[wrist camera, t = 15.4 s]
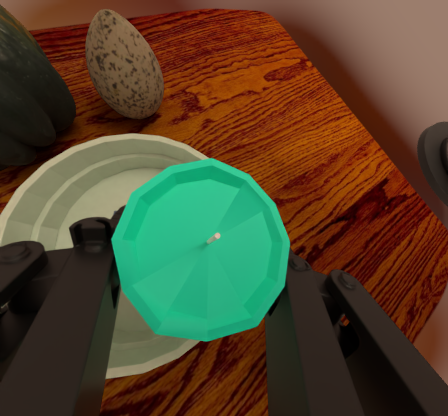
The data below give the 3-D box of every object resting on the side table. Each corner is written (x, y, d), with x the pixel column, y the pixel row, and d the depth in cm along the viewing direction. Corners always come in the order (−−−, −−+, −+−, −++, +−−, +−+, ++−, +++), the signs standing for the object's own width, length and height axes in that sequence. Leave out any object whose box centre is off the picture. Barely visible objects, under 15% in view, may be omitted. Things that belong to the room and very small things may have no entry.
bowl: (247, 188, 24) (264, 169, 19) (211, 356, 18) (221, 397, 13) (97, 142, 21) (69, 106, 16) (3, 320, 16) (-88, 351, 11)
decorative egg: (116, 137, 22) (62, 48, 13) (103, 90, 23) (47, -22, 14) (173, 127, 24) (164, 44, 15) (159, 85, 25) (142, -17, 16)
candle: (163, 216, 16) (106, 119, 5) (228, 218, 17) (308, 145, 6) (157, 288, 14) (47, 405, 3) (229, 286, 16) (340, 363, 4)
